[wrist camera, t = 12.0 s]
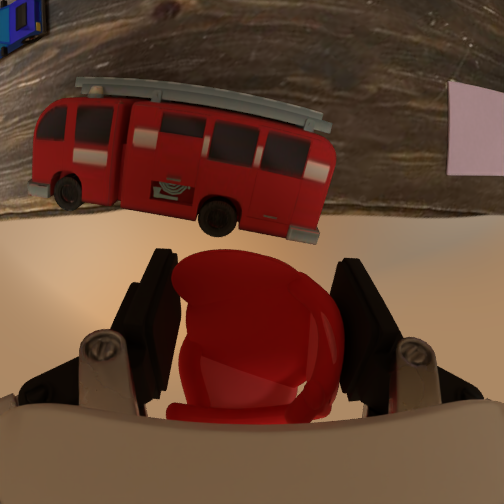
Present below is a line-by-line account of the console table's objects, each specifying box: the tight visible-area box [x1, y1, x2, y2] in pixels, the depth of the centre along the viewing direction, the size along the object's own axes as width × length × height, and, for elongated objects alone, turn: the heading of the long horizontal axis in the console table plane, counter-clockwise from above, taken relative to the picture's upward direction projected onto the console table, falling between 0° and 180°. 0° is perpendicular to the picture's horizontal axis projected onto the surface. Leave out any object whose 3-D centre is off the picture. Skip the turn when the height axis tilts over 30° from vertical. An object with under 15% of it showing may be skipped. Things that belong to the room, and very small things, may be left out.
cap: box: [166, 249, 345, 425], centre depth 11 cm, size 8×6×6 cm
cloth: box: [446, 81, 504, 176], centre depth 24 cm, size 16×10×1 cm, turn 96°
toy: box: [28, 77, 336, 245], centre depth 22 cm, size 8×22×10 cm
